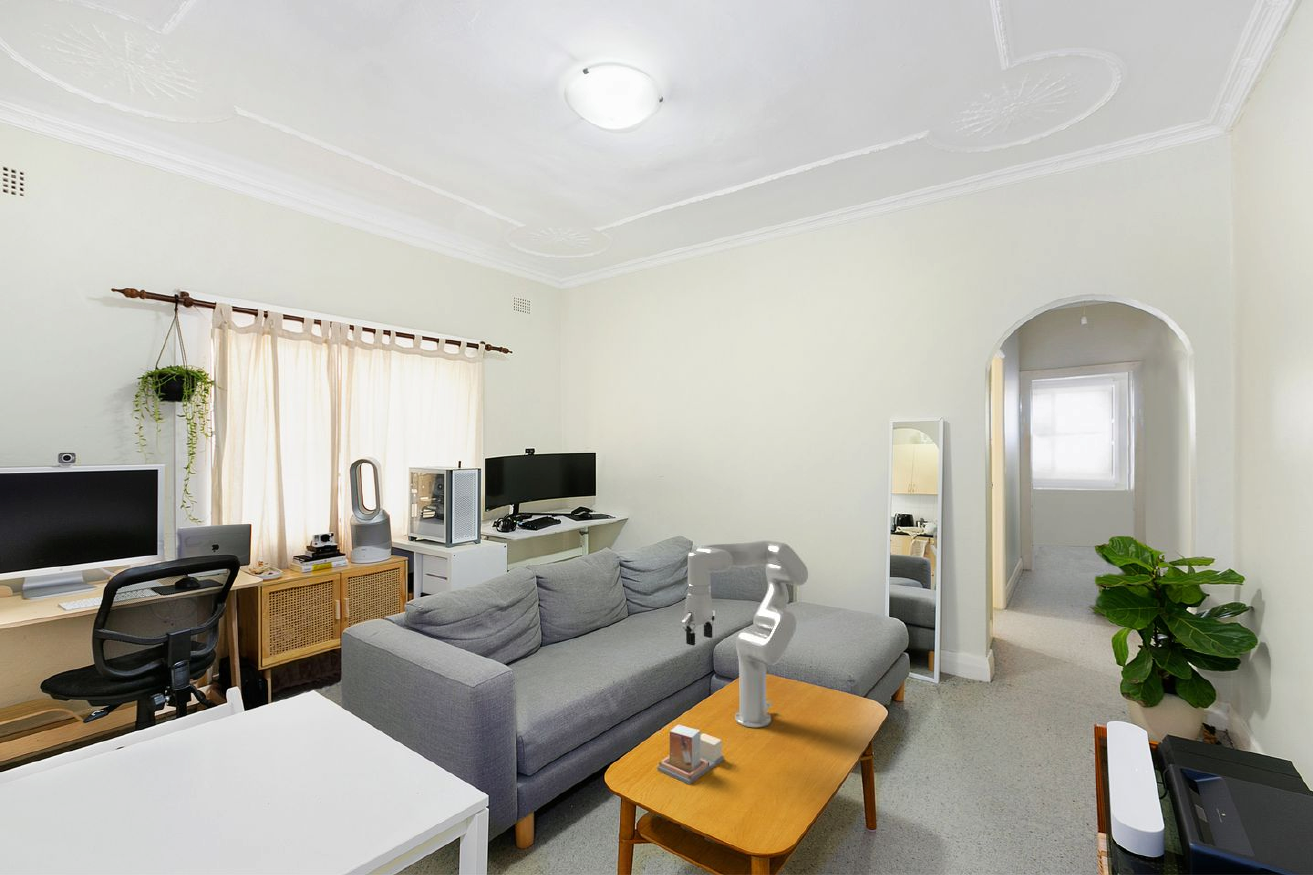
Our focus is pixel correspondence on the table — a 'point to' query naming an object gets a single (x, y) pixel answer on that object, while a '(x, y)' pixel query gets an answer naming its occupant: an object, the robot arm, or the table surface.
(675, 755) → the small box
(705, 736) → the assembly board
